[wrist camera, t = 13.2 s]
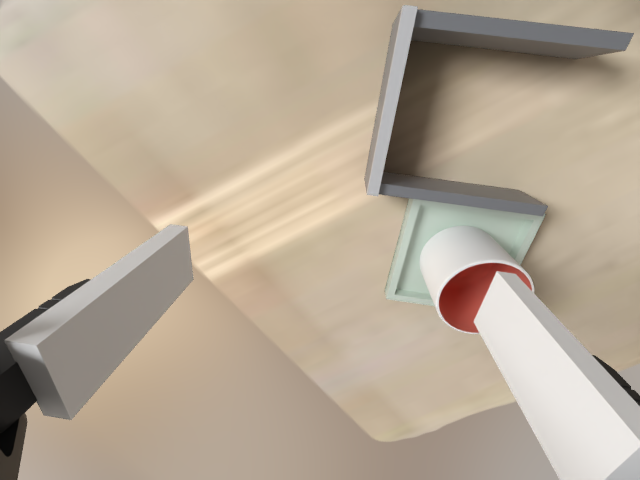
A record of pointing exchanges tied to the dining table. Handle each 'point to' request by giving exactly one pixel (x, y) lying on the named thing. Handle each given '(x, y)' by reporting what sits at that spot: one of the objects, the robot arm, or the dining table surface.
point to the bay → (474, 35)
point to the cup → (464, 273)
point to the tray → (435, 216)
